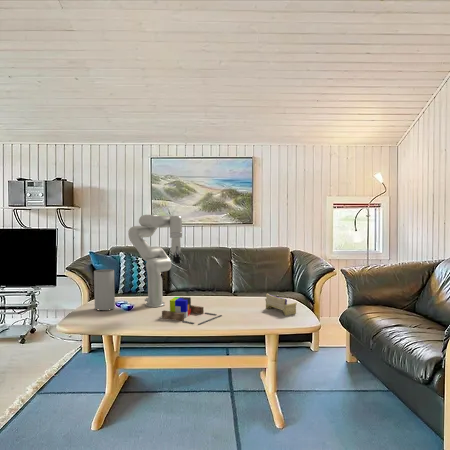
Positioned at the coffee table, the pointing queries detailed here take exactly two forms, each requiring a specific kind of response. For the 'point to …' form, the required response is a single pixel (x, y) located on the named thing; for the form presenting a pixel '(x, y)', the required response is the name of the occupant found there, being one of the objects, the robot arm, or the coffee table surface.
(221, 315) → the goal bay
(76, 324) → the coffee table surface
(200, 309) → the chute
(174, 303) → the puzzle toy
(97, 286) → the grey rounded tower
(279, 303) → the toy sofa
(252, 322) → the coffee table surface
